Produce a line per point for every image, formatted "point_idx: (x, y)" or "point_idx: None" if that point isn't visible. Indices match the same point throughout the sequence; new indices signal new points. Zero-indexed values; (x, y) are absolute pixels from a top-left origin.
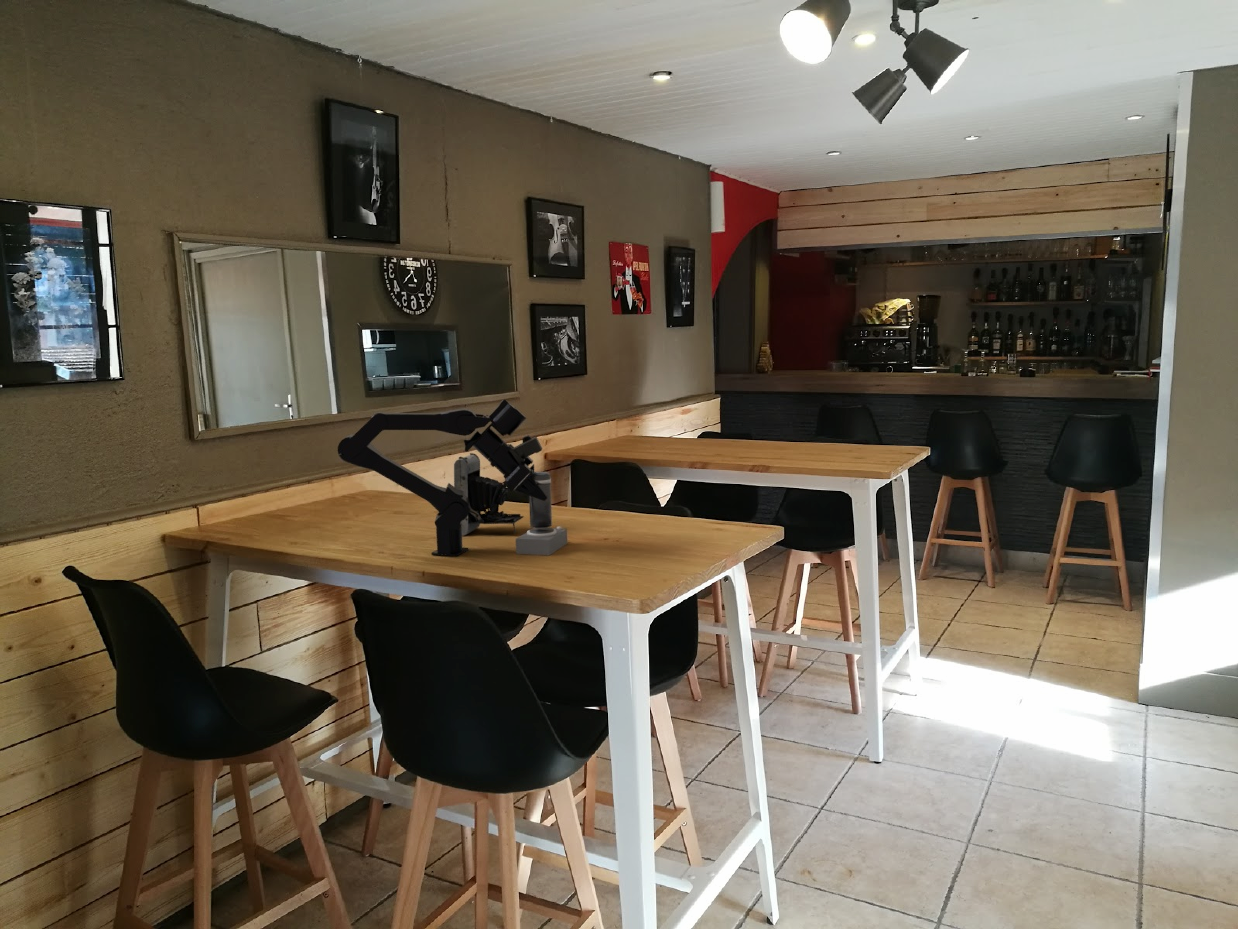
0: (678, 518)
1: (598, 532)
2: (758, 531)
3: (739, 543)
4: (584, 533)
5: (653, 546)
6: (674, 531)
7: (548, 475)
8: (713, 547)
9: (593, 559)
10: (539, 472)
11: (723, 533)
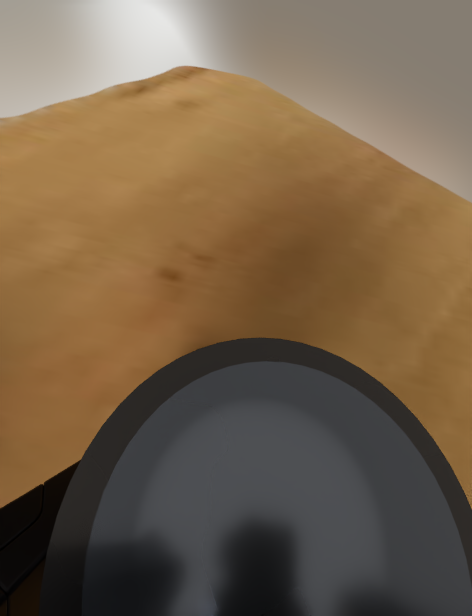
0: (50, 113)
1: (78, 271)
2: (228, 80)
3: (302, 118)
4: (65, 307)
5: (287, 215)
6: (166, 151)
7: (380, 387)
8: (321, 149)
9: (393, 357)
10: (219, 529)
11: (221, 109)
